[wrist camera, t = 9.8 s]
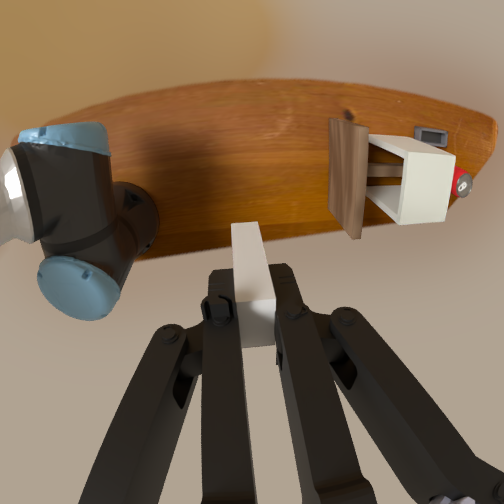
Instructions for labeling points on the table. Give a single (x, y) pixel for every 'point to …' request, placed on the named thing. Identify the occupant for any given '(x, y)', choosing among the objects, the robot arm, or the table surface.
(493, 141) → the table surface
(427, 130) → the pit
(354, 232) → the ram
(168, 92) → the table surface
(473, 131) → the table surface
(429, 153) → the tunnel
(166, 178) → the table surface
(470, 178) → the beverage can
